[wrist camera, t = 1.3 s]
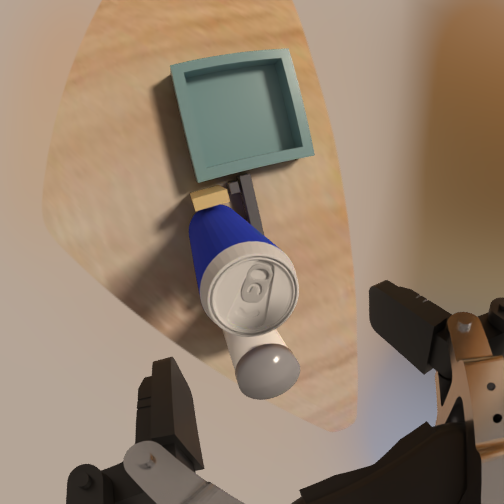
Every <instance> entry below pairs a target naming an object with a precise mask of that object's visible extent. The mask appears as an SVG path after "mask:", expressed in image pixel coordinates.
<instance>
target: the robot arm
mask: <svg viewBox="0 0 504 504" xmlns="http://www.w3.org/2000/svg"><path fill="white" fill-rule="evenodd" d="M369 316H370V323H371V325H372V327H373V329H374V330H375V331H376V332H377V333H378V334H379V335H380V336H381V337H382V338H383V339H385V340H386V341H387V342H388V343H389V344H390V345H392V346H393V347H394V348H395V349H396V350H397V351H398V352H399V353H400V354H402V355H403V356H404V357H405V358H406V359H407V360H408V361H410V362H411V363H412V364H413V365H414V366H415V367H416V368H417V369H418V370H419V371H421V372H422V373H423V374H426V373H427V372H428V371H430V370H431V369H432V368H434V369H435V370H436V373H435V382H436V394H437V408H438V409H437V410H438V412H437V420H436V425H435V426H434V427H431V426H430V425H429V423H428V422H425V423H424V424H422V425H421V426H419V427H418V428H417V429H415V430H414V431H412V432H411V433H409V434H408V435H406V436H405V437H403V438H402V439H400V440H399V441H398V442H397V443H396V444H395V445H394V446H393V447H392V448H391V449H390V450H389V451H388V452H387V453H386V454H385V455H384V456H383V457H382V458H381V459H380V460H379V461H377V462H376V463H375V464H373V465H371V466H368V467H364V468H361V469H357V470H354V471H350V472H346V473H342V474H338V475H334V476H332V477H330V478H328V479H326V480H323V481H321V482H318V483H316V484H313V485H311V486H308V487H306V488H303V489H300V493H301V496H302V497H300V498H299V499H297V500H296V501H294V502H293V503H292V504H504V298H496V299H494V300H493V301H492V302H491V305H490V309H489V312H488V313H486V314H483V315H481V316H478V317H477V316H475V315H474V314H472V313H468V312H457V313H454V314H453V315H452V314H450V313H449V312H447V311H445V310H444V309H442V308H441V307H439V306H437V305H436V304H434V303H432V302H431V301H429V300H428V301H427V299H426V298H424V297H423V296H420V295H419V294H418V293H416V292H414V291H413V290H411V289H407V288H403V287H398V286H396V285H395V284H393V283H391V282H390V281H388V280H385V281H383V282H381V283H378V284H376V285H374V286H372V287H371V288H370V290H369ZM137 409H138V410H137V417H136V441H135V445H133V446H132V447H131V448H130V449H129V450H128V451H127V452H126V454H125V456H124V461H123V462H122V463H120V464H117V465H115V466H112V467H110V468H107V469H104V470H102V471H100V470H99V469H98V468H97V467H95V466H94V465H90V464H83V465H80V466H78V467H76V468H75V469H74V470H73V471H72V472H71V473H70V475H69V477H68V482H67V497H66V504H244V503H243V502H241V501H239V500H238V499H236V498H234V497H233V496H231V495H230V494H228V493H226V492H225V491H223V490H222V489H220V488H219V487H217V486H216V485H214V484H212V483H211V482H207V481H205V480H204V479H202V478H201V477H200V476H198V475H197V474H196V473H195V471H196V470H202V469H204V465H203V459H202V453H201V448H200V442H199V437H198V430H197V424H196V418H195V411H194V404H193V398H192V394H191V391H190V388H189V386H188V384H187V382H186V380H185V378H184V377H183V375H182V373H181V371H180V369H179V367H178V365H177V363H176V361H175V360H174V358H173V357H170V358H165V359H162V360H158V361H154V362H153V366H152V376H150V377H146V378H144V380H143V381H142V383H141V385H140V387H139V389H138V402H137Z"/></svg>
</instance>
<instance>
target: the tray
mask: <svg viewBox="0 0 504 504" xmlns="http://www.w3.org/2000/svg"><path fill="white" fill-rule="evenodd" d="M170 70H171V78H172V82H173V87H174V91H175V96H176V100H177V104H178V109H179V113H180V117H181V121H182V126H183V130H184V134H185V138H186V142H187V146H188V150H189V154H190V158H191V162H192V166H193V170H194V174H195V177H196V181H197V182H198V183H200V182H203V181H207V180H211V179H214V178H218V177H222V176H226V175H229V174H233V173H237V172H241V171H245V170H249V169H253V168H258V167H262V166H266V165H271V164H275V163H280V162H284V161H289V160H294V159H299V158H304V157H309V156H314V155H315V154H314V149H313V145H312V140H311V135H310V130H309V126H308V121H307V117H306V113H305V108H304V104H303V100H302V96H301V92H300V88H299V84H298V80H297V77H296V73H295V69H294V66H293V62H292V58H291V55H290V51H289V49H271V50H259V51H249V52H240V53H233V54H226V55H219V56H213V57H208V58H202V59H197V60H192V61H187V62H183V63H179V64H174V65H170Z"/></svg>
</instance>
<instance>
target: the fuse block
mask: <svg viewBox="0 0 504 504" xmlns="http://www.w3.org/2000/svg"><path fill="white" fill-rule="evenodd" d="M237 180H238V182H237V181H231V182H228V183H227V187H228V191H229V193H230V194H235V193H239V192H240V193H241V197H242V201H243V205H244V209H245V214H246V218H247V222H248V223H249V224H251V225H252V226H253V227H254V228H255V229H257V230H258V231H259V232H260V233H261V234H263V235H264V232H263V228H262V223H261V219H260V214H259V210H258V206H257V201H256V197H255V192H254V188H253V184H252V179H251V175H250V174H247V173H246V174H242V175H238V176H237ZM238 184H239V185H238ZM239 189H240V190H239ZM228 191H227V189H225V188H223V187H221V186H219V185H216V186H213V187H209V188H206V189H202V190H199V191H195V192H192V193H190V196H191V200H192V203H193V206H194V209H195V211H199V210H202V209H206V208H209V207H212V206H216V205H219V204H223V203H227V202H230V199H229V195H228Z"/></svg>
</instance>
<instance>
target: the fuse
mask: <svg viewBox="0 0 504 504" xmlns="http://www.w3.org/2000/svg"><path fill="white" fill-rule="evenodd" d="M222 331H223V334H224V337H225V340H226V344H227V347H228V350H229V353H230V356H231V359H232V362H233V366H234V369H235V376H236V379H237V382H238V385H239V388H240V390H241V391H242V393H243V394H245V395H246V396H248V397H250V398H253V399H259V400H263V399H270V398H274V397H277V396H279V395H281V394H283V393H285V392H286V391H287V390H289V389H290V388H291V387H292V386H293V385H294V384H295V382H296V381H297V379H298V377H299V374H300V365H299V363H298V361H297V359H296V358H295V356H294V355H293V353H292V352H291V350H290V349H289V348H288V347H287V346H286V344H285V343H284V341H283V339H282V338H281V336H280V335H279V333H278V331H277V330H276V329H275V330H273V331H271V332H269V333H266V334H263V335H260V336H254V337H242V336H236V335H233V334H230V333H228V332H226V331H224V330H223V329H222Z"/></svg>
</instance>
